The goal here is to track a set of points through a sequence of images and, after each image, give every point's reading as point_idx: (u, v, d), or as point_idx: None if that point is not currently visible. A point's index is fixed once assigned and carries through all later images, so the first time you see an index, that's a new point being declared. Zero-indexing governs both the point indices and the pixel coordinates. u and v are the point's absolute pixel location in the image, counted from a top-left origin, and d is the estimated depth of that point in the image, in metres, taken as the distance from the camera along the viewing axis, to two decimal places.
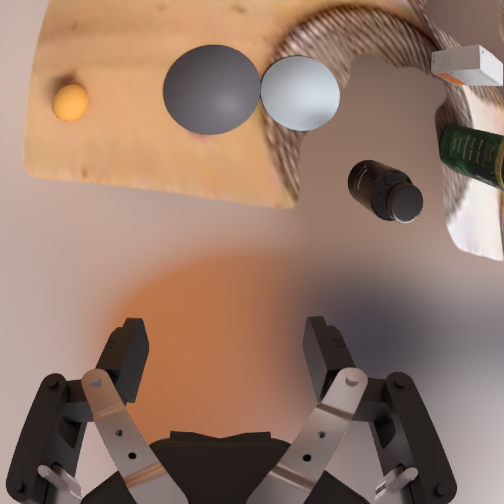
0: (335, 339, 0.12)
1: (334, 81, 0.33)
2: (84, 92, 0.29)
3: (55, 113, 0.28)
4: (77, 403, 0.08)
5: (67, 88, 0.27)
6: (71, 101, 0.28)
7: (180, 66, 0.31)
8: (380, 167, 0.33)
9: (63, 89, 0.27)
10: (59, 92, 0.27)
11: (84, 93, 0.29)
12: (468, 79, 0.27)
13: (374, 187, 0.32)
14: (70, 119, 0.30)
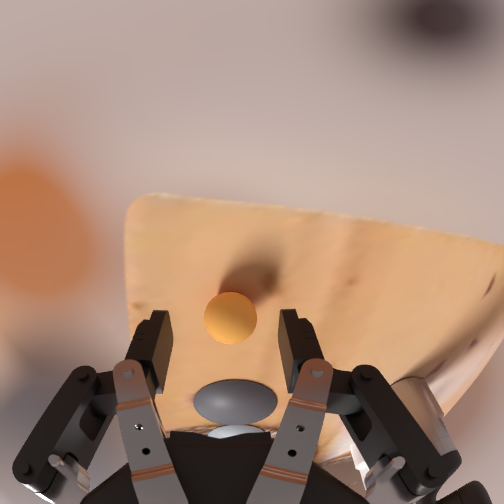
0: (306, 331, 0.13)
1: None
2: None
3: (216, 319, 0.27)
4: (108, 395, 0.09)
5: (249, 334, 0.28)
6: (229, 343, 0.28)
7: (257, 389, 0.39)
8: None
9: (249, 329, 0.28)
10: (246, 326, 0.27)
11: None
12: None
13: None
14: (206, 326, 0.29)
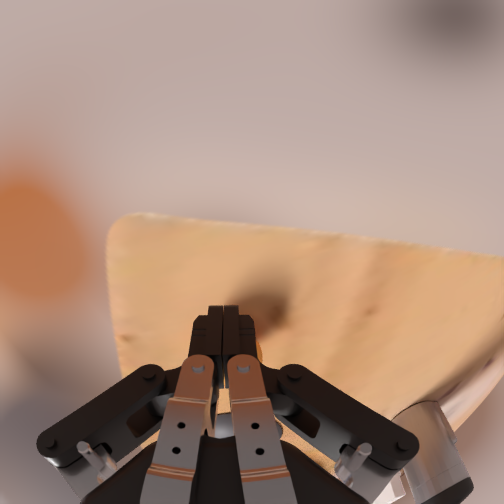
0: (246, 328, 0.13)
1: None
2: None
3: None
4: None
5: None
6: None
7: None
8: None
9: None
10: None
11: None
12: None
13: None
14: None
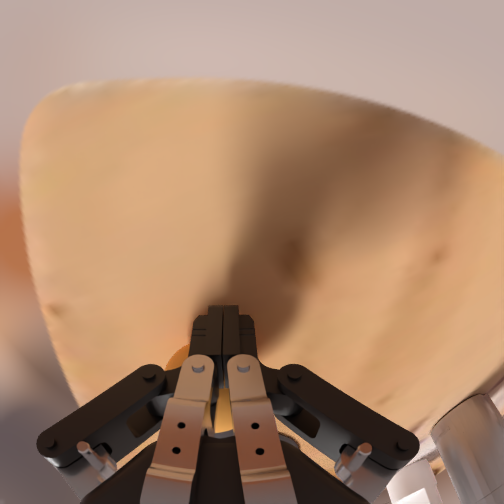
0: (246, 328, 0.13)
1: None
2: None
3: None
4: None
5: None
6: None
7: None
8: None
9: None
10: None
11: None
12: None
13: None
14: None
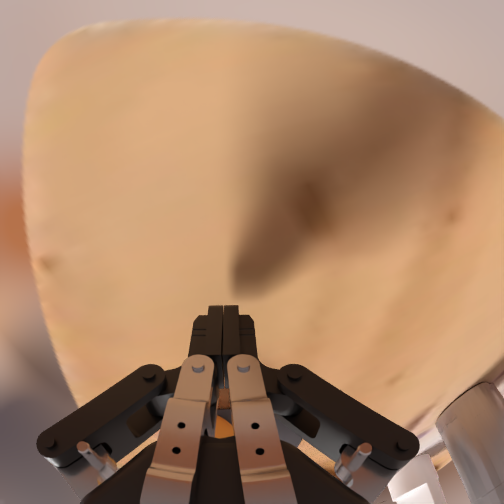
0: (246, 328, 0.13)
1: None
2: None
3: None
4: None
5: None
6: None
7: None
8: None
9: None
10: (227, 434, 0.17)
11: None
12: None
13: None
14: None
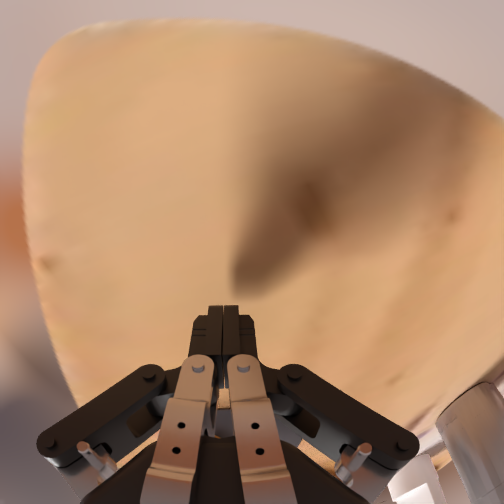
0: (246, 328, 0.13)
1: None
2: None
3: None
4: None
5: None
6: None
7: None
8: None
9: None
10: None
11: None
12: None
13: None
14: None
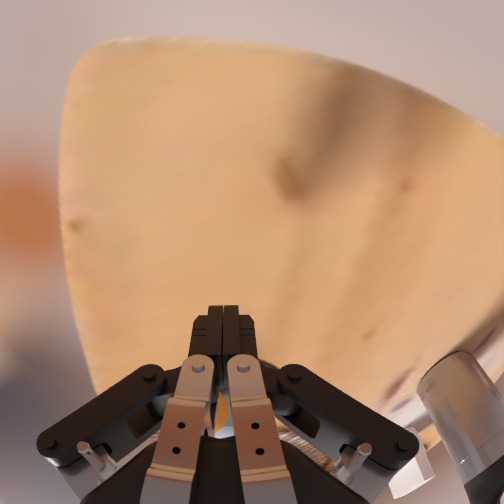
0: (246, 328, 0.13)
1: None
2: None
3: None
4: None
5: None
6: None
7: None
8: None
9: (220, 426, 0.23)
10: (216, 426, 0.22)
11: None
12: None
13: None
14: None
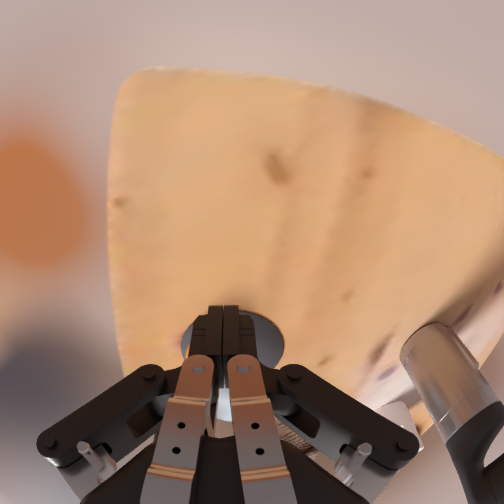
0: (246, 328, 0.13)
1: None
2: None
3: None
4: None
5: None
6: None
7: (260, 325, 0.33)
8: None
9: None
10: None
11: None
12: None
13: None
14: None
